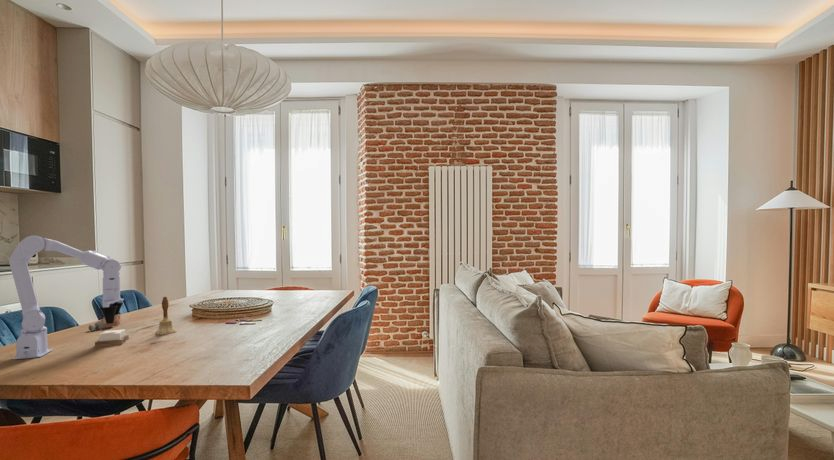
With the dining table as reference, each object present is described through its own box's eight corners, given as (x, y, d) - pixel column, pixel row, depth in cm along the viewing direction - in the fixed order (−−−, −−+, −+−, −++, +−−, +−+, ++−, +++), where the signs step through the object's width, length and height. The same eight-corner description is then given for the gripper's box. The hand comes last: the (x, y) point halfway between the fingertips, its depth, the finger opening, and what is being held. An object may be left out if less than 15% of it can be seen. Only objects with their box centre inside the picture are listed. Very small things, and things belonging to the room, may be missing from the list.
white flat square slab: (119, 339, 168) (119, 333, 168) (99, 341, 166) (98, 335, 166) (125, 335, 175) (125, 329, 175) (105, 336, 173) (105, 330, 173)
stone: (89, 334, 189) (104, 321, 190) (83, 325, 190) (98, 312, 191) (106, 334, 198) (120, 322, 200) (100, 326, 200) (114, 314, 201)
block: (116, 326, 169) (116, 316, 169) (103, 327, 167) (103, 317, 167) (120, 323, 173) (120, 314, 173) (107, 324, 172) (107, 315, 172)
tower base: (122, 346, 168) (122, 339, 168) (95, 348, 164) (94, 342, 164) (128, 340, 176) (128, 334, 176) (102, 343, 173) (102, 336, 173)
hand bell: (174, 333, 184) (174, 297, 184) (152, 335, 181) (152, 298, 181) (177, 329, 192) (177, 294, 192) (156, 331, 189) (156, 296, 189)
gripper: (117, 290, 165) (118, 324, 165) (128, 285, 178) (128, 317, 178) (95, 291, 162) (96, 326, 162) (108, 286, 176) (109, 319, 176)
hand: (112, 322), depth 170 cm, fingers closed on block, 4 cm apart
